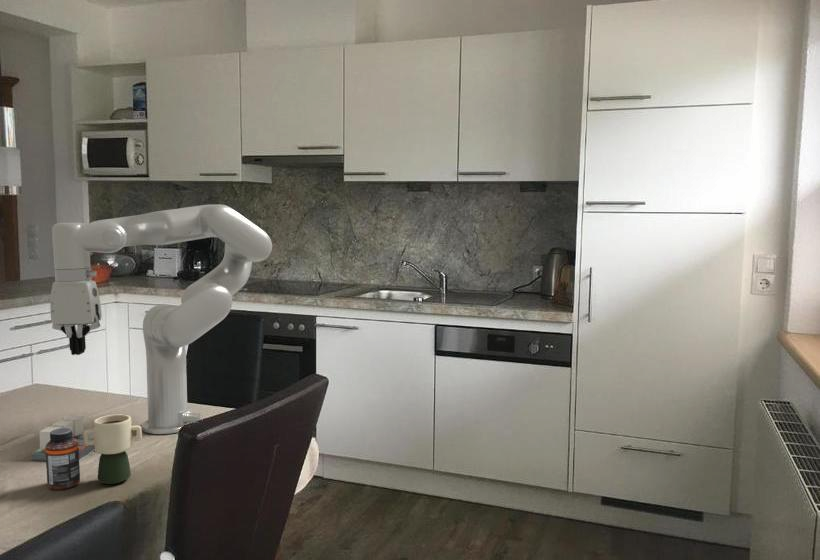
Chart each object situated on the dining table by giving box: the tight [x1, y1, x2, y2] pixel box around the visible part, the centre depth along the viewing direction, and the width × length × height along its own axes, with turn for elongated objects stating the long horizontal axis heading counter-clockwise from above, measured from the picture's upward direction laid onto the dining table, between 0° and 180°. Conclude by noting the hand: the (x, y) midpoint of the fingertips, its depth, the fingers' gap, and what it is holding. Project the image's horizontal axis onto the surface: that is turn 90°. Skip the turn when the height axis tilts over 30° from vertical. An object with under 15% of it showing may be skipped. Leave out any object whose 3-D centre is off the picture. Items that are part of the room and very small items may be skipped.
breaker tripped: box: [38, 426, 61, 449], centre depth 153 cm, size 3×3×4 cm
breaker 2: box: [62, 414, 85, 436], centre depth 162 cm, size 3×3×4 cm
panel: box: [30, 432, 95, 462], centre depth 158 cm, size 10×16×2 cm, turn 176°
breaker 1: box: [51, 420, 73, 433], centre depth 158 cm, size 3×3×4 cm
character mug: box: [83, 413, 143, 485], centre depth 138 cm, size 11×7×13 cm, turn 108°
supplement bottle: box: [45, 428, 81, 491], centre depth 136 cm, size 6×6×11 cm
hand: (78, 353), depth 159 cm, fingers closed
